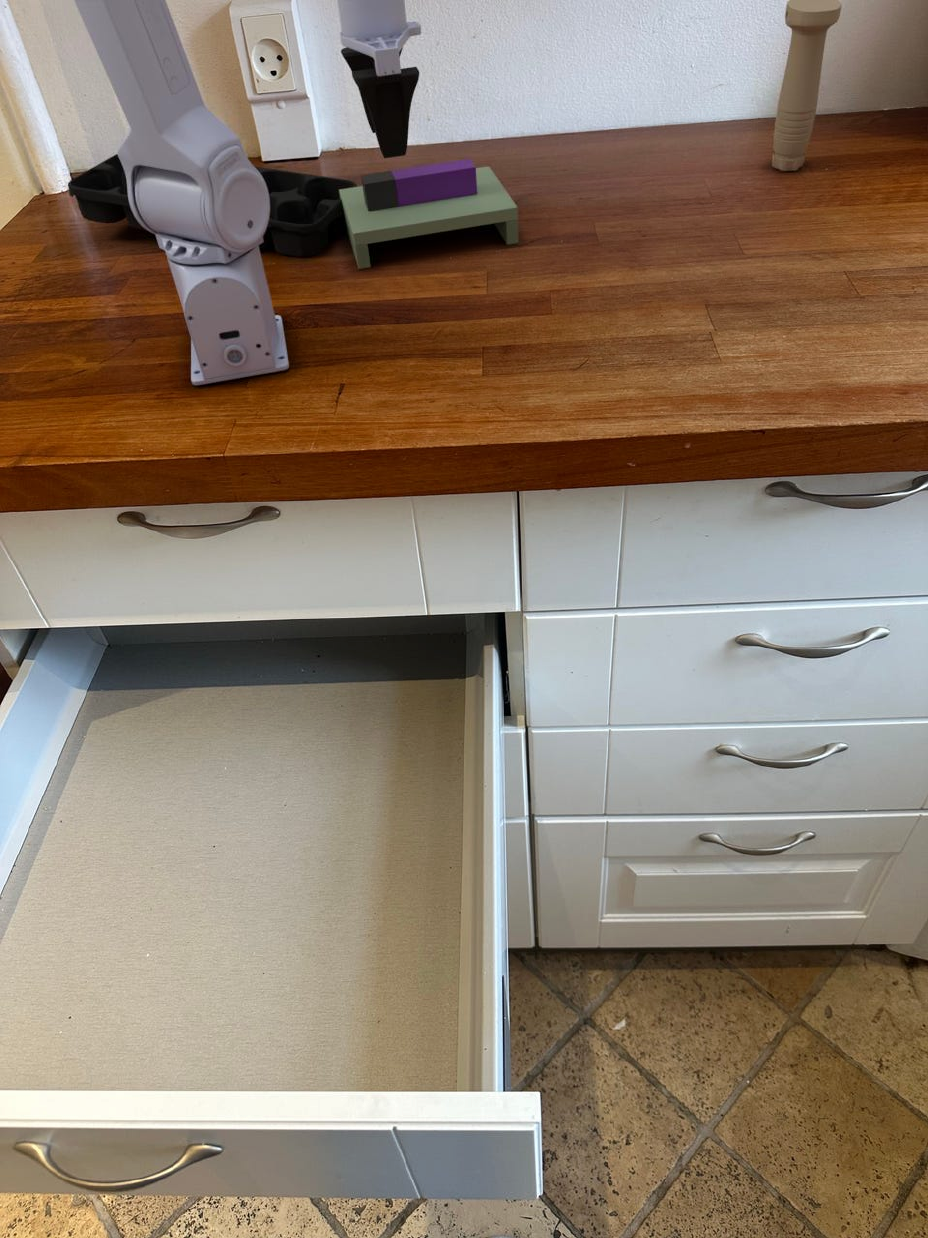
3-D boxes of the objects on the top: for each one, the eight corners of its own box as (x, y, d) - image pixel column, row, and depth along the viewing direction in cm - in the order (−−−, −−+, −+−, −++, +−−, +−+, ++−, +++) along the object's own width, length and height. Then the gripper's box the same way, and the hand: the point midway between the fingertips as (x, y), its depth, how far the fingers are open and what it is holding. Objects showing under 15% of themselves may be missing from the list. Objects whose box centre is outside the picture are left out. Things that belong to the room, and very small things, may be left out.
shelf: (518, 243, 90) (517, 206, 88) (358, 269, 89) (353, 233, 86) (490, 200, 99) (489, 165, 96) (344, 223, 97) (338, 189, 95)
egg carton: (114, 178, 105) (106, 143, 103) (371, 194, 103) (369, 159, 100) (49, 245, 93) (38, 207, 90) (339, 264, 91) (336, 226, 88)
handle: (804, 155, 101) (832, -6, 90) (816, 176, 96) (847, 9, 86) (759, 157, 101) (782, -3, 91) (769, 179, 97) (794, 13, 86)
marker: (477, 194, 91) (475, 166, 89) (368, 211, 90) (364, 183, 88) (471, 185, 93) (470, 157, 91) (364, 202, 91) (360, 174, 90)
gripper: (429, -23, 72) (444, 160, 81) (400, -52, 82) (417, 114, 92) (340, -12, 71) (366, 172, 81) (322, -42, 81) (347, 124, 91)
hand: (388, 142), depth 86 cm, fingers open, 7 cm apart
